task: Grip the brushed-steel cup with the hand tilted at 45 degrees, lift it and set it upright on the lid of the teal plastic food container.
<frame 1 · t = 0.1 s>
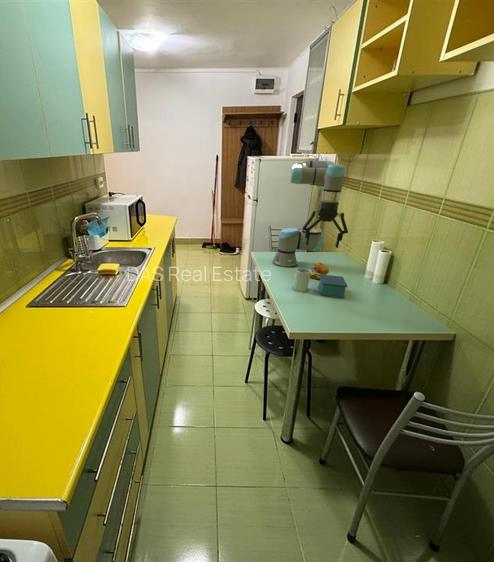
hand: (321, 245, 147), 28 cm above the table, tool pointing down, fingers open, 13 cm apart
cup: (300, 288, 167), on the table
container: (330, 291, 165), on the table
cheeseburger: (317, 277, 184), on the table
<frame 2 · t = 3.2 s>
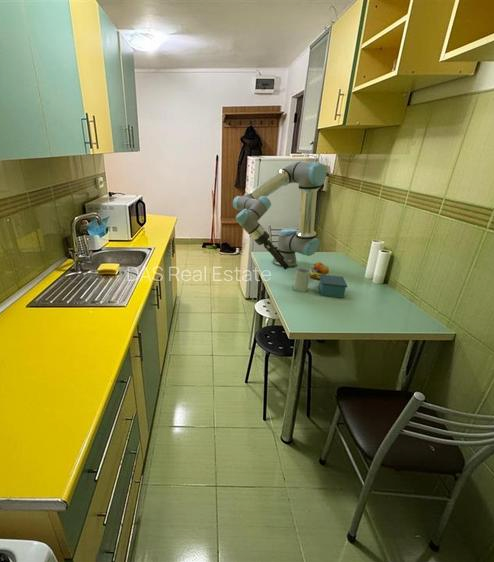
hand: (284, 263, 162), 14 cm above the table, tool tilted 45°, fingers open, 13 cm apart
nothing on the table moved.
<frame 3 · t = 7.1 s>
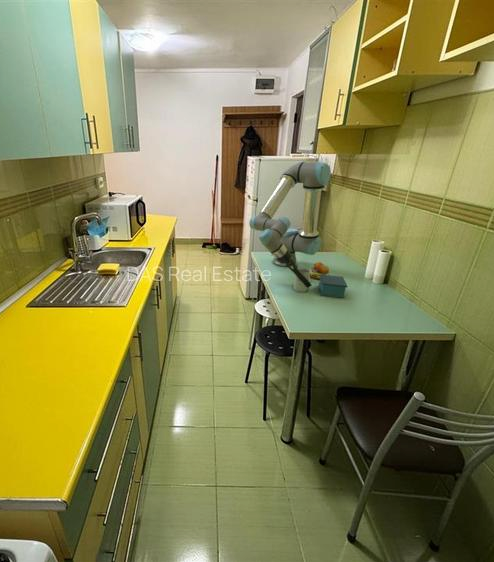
hand: (307, 283, 166), 4 cm above the table, tool tilted 45°, fingers closed on cup, 7 cm apart
cup: (300, 288, 167), on the table, touching gripper
everything else where it was.
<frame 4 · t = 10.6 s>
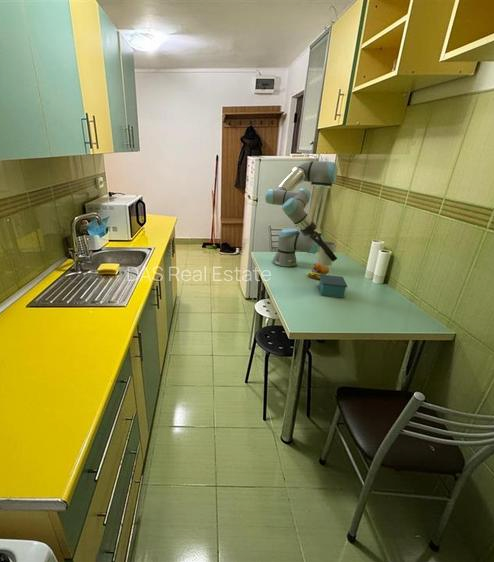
hand: (332, 257, 157), 20 cm above the table, tool tilted 45°, fingers closed on cup, 7 cm apart
cup: (324, 263, 159), point 16 cm above the table, touching gripper
everything else where it was.
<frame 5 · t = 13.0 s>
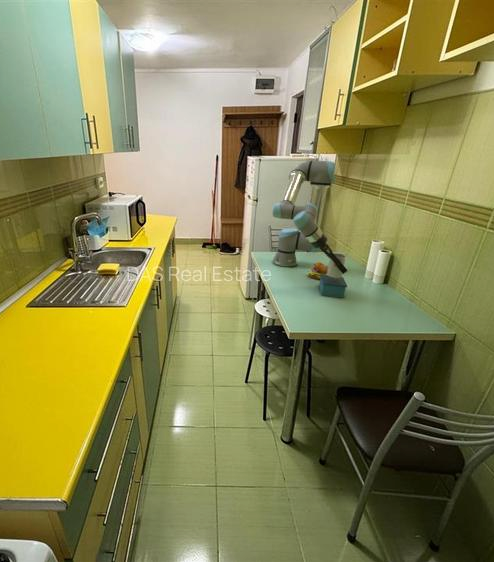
hand: (342, 269, 159), 13 cm above the table, tool tilted 45°, fingers closed on cup, 7 cm apart
cup: (334, 275, 161), point 10 cm above the table, touching gripper
everything else where it was.
when the fingers open (11 cm above the table, at t = 14.3 s): cup stays where it is, resting on container.
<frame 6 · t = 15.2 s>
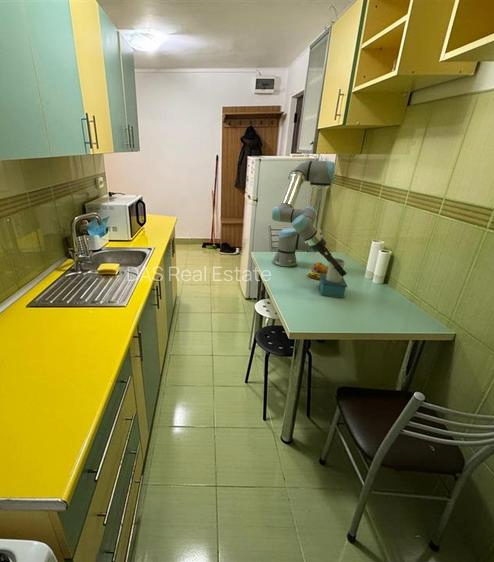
hand: (339, 270, 160), 13 cm above the table, tool tilted 45°, fingers open, 13 cm apart
cup: (333, 279, 162), point 7 cm above the table, touching container
everything else where it was.
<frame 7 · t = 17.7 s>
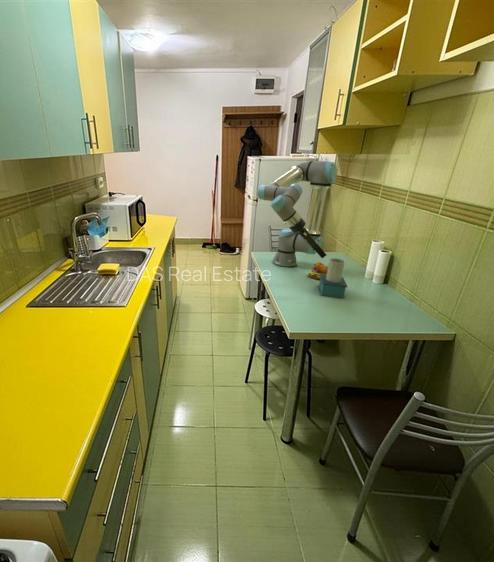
hand: (320, 252, 156), 22 cm above the table, tool tilted 45°, fingers open, 13 cm apart
nothing on the table moved.
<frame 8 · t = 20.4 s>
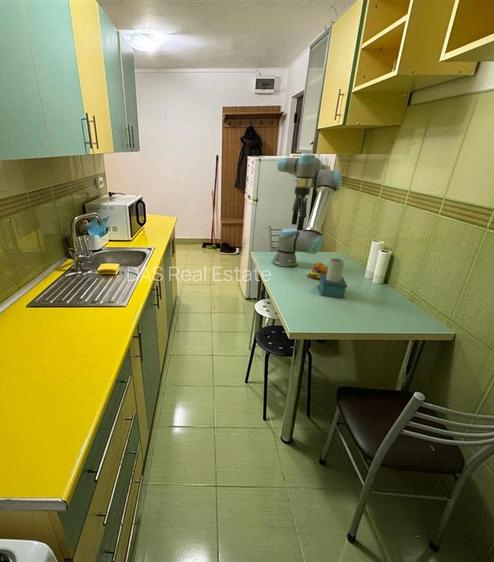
hand: (296, 227, 164), 32 cm above the table, tool pointing down, fingers open, 13 cm apart
nothing on the table moved.
at the end: cup inside the target area on the container (0.1 cm from its centre), point 7.0 cm above the container's base; cup tilted 0°; the gripper is holding nothing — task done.
